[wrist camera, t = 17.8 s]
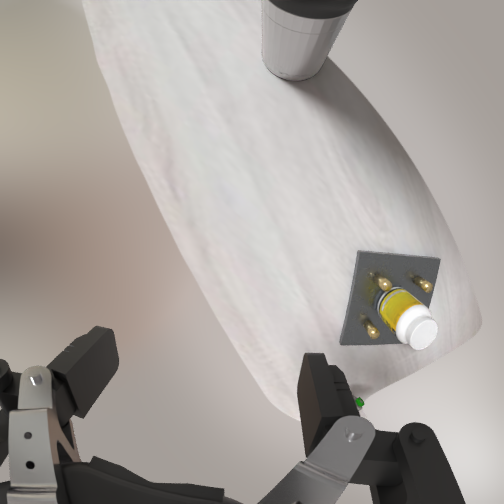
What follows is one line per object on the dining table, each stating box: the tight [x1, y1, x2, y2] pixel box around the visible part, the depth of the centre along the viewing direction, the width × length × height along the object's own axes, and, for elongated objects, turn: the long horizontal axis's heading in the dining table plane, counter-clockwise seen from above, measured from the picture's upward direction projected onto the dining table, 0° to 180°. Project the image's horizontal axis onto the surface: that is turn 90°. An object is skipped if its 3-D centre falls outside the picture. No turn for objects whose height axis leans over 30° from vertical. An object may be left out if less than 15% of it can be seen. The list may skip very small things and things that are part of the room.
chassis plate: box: [340, 250, 441, 345], centre depth 39 cm, size 16×16×4 cm
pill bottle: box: [377, 287, 438, 350], centre depth 35 cm, size 6×6×11 cm
